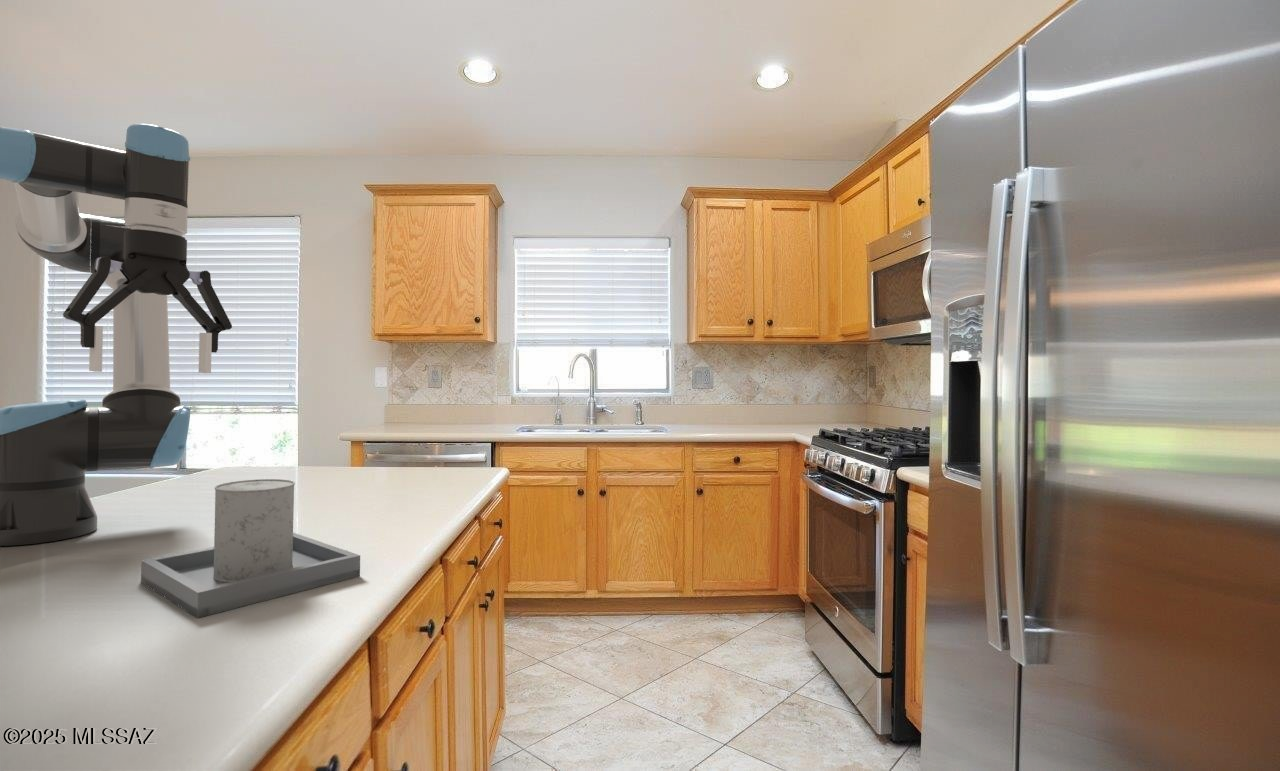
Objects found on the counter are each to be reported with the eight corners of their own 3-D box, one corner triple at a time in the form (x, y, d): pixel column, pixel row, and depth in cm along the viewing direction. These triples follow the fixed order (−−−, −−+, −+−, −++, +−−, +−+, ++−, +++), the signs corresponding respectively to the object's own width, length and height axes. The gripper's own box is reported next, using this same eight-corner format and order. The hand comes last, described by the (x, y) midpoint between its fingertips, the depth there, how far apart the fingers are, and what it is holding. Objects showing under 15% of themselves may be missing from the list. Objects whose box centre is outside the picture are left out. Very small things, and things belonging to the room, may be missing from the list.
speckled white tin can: (307, 563, 90) (309, 480, 90) (261, 584, 80) (263, 492, 80) (247, 560, 91) (249, 478, 91) (194, 580, 81) (196, 489, 81)
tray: (140, 582, 83) (141, 560, 83) (293, 550, 99) (294, 532, 99) (197, 618, 71) (197, 592, 71) (359, 576, 88) (360, 555, 88)
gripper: (51, 210, 80) (48, 371, 80) (256, 246, 100) (253, 374, 101) (36, 216, 84) (33, 369, 85) (236, 249, 105) (233, 372, 105)
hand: (153, 372), depth 93 cm, fingers open, 13 cm apart
